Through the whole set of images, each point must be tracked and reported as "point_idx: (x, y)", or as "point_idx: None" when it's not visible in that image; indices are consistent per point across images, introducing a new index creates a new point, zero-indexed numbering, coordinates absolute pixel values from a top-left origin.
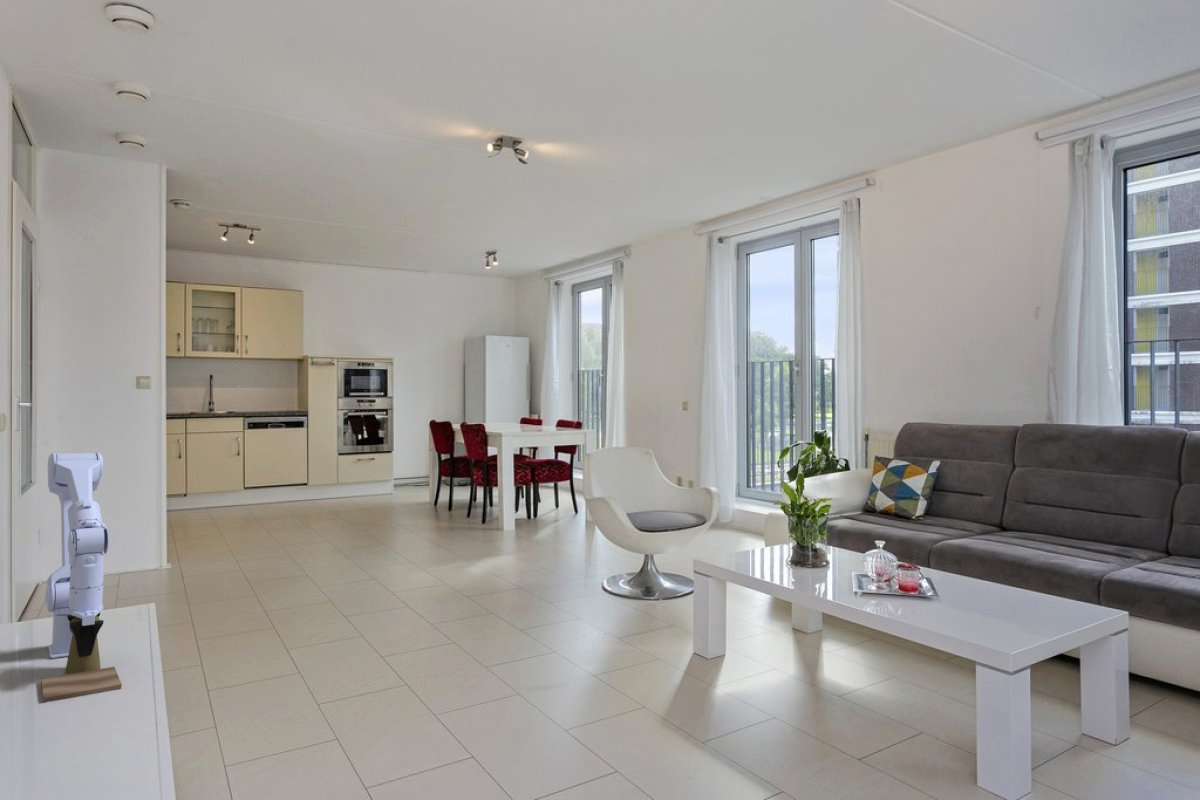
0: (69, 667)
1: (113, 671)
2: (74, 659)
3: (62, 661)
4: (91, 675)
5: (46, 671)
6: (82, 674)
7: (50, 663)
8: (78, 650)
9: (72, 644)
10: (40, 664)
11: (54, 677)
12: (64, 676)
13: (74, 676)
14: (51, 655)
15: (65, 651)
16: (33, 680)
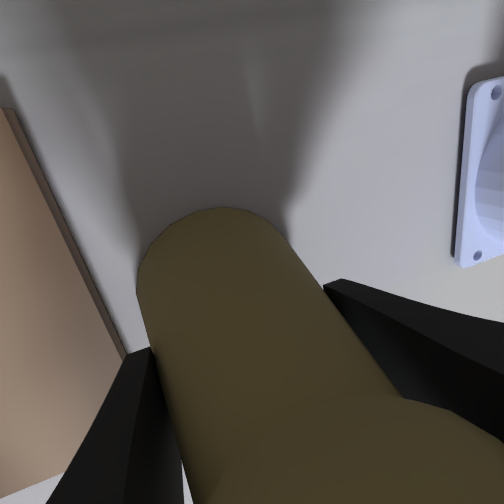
0: (165, 253)
1: (67, 461)
2: (159, 305)
3: (403, 153)
4: (15, 390)
5: (266, 100)
6: (49, 340)
7: (401, 97)
8: (106, 398)
9: (213, 346)
10: (411, 43)
11: (15, 195)
12: (23, 254)
13: (12, 311)
14: (494, 85)
15: (494, 152)
16: (91, 44)
